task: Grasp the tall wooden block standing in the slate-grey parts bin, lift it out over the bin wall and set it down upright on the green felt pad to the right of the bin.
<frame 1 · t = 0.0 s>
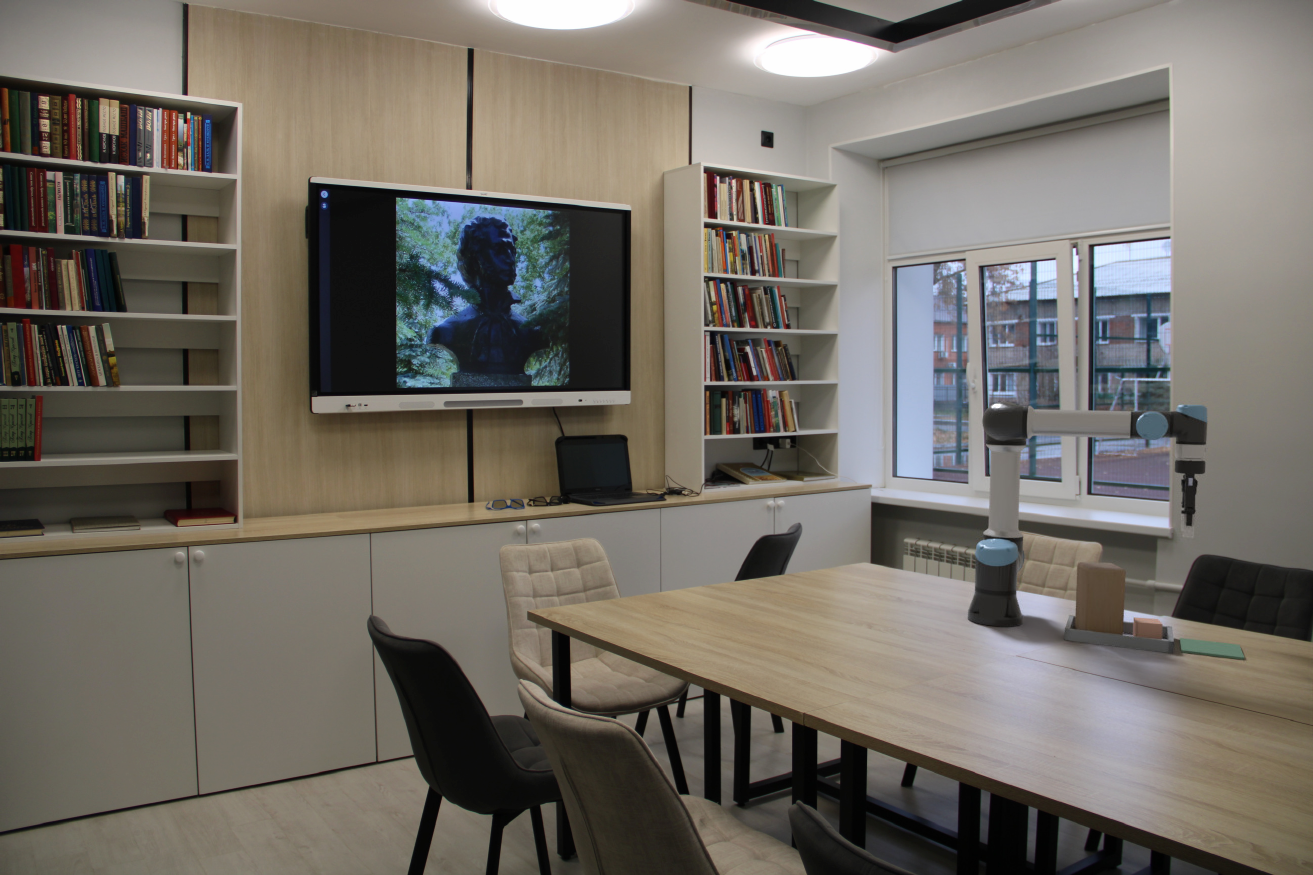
hand: (1187, 534, 265), 28 cm above the table, fingers open, 13 cm apart
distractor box: (1147, 642, 256), resting in bin
pad: (1210, 649, 249), on the table
wooden block: (1098, 636, 261), resting in bin
bin: (1118, 638, 259), on the table
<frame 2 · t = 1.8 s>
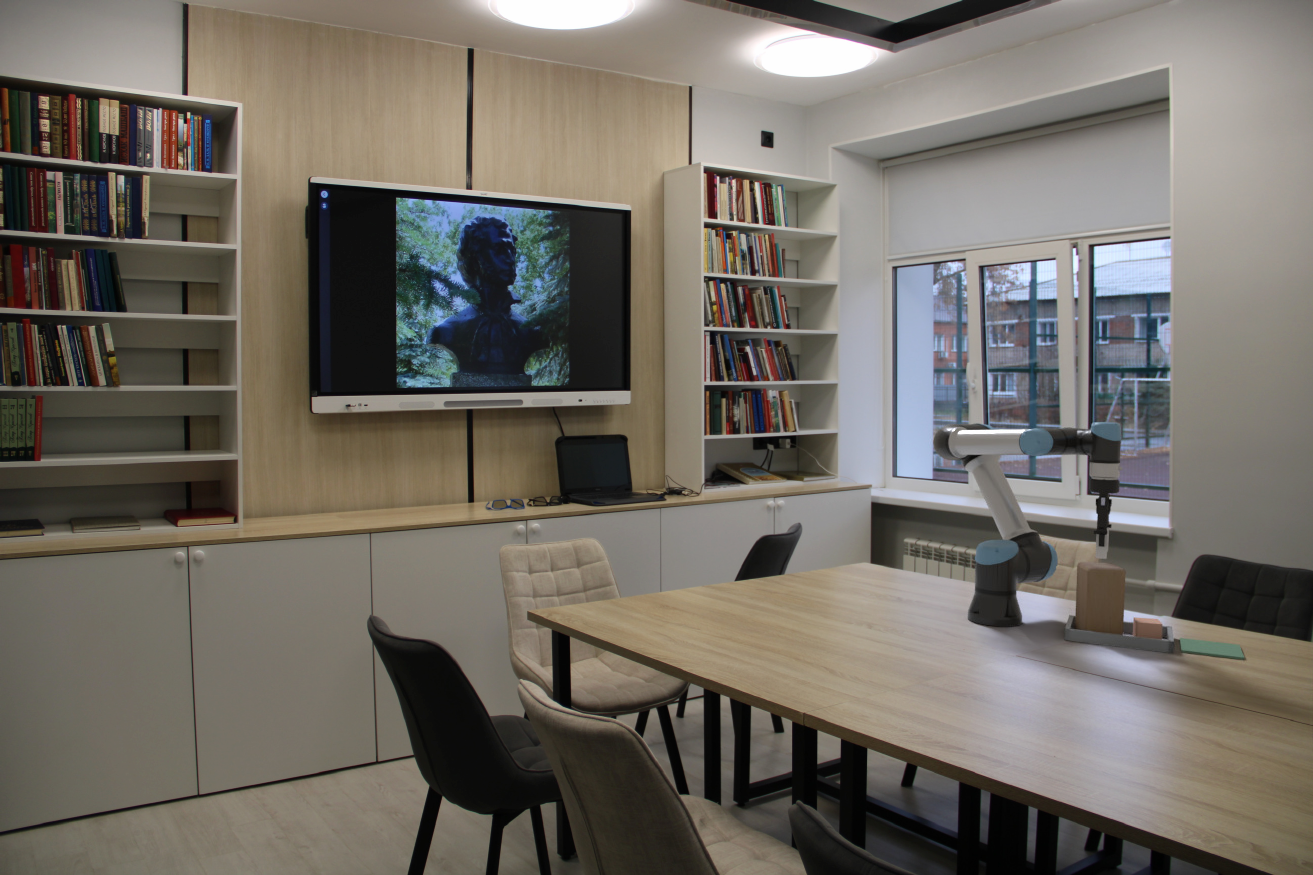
hand: (1102, 554, 260), 23 cm above the table, fingers open, 13 cm apart
nothing on the table moved.
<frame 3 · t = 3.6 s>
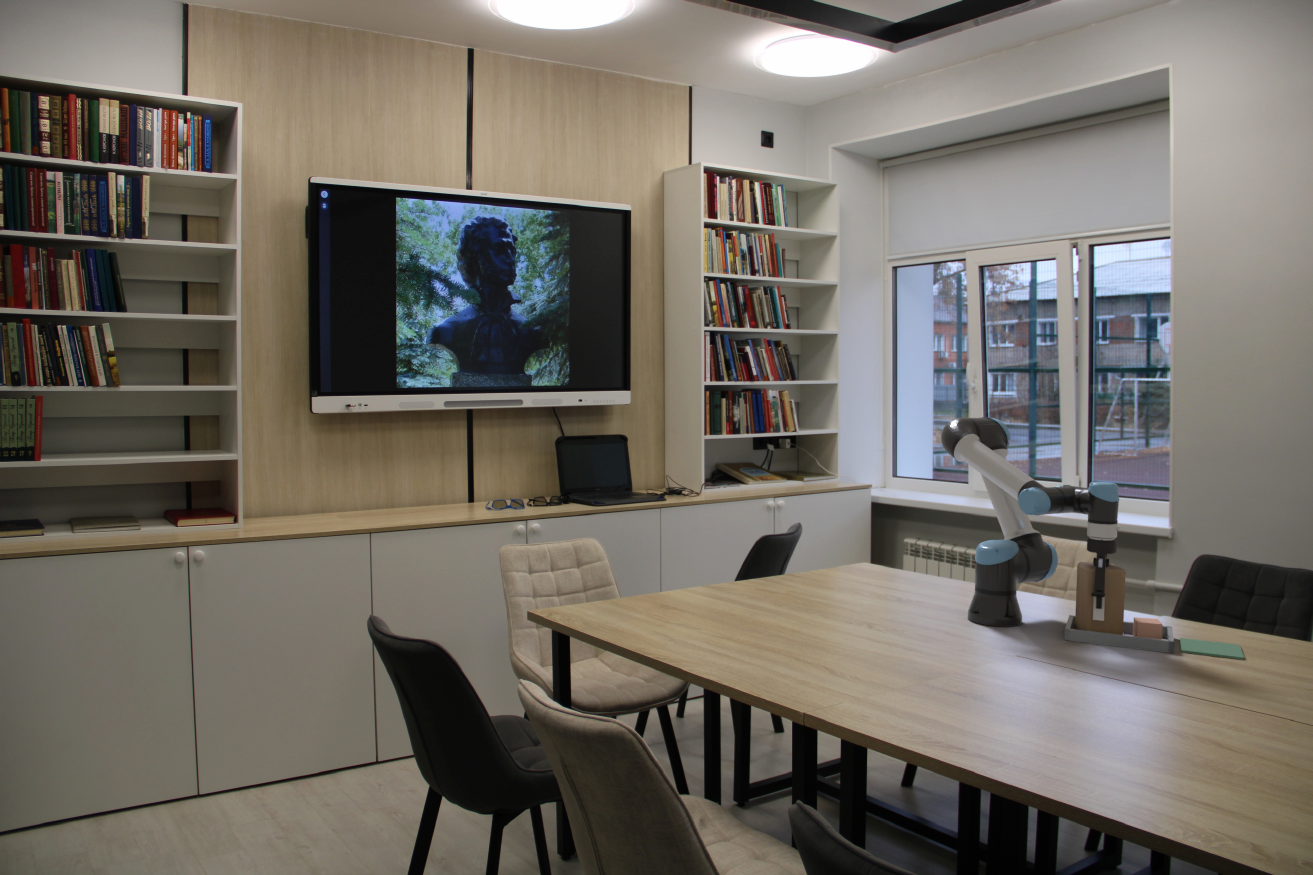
hand: (1099, 615, 261), 6 cm above the table, fingers closed on wooden block, 12 cm apart
wooden block: (1098, 636, 261), resting in bin, touching gripper
everything else where it was.
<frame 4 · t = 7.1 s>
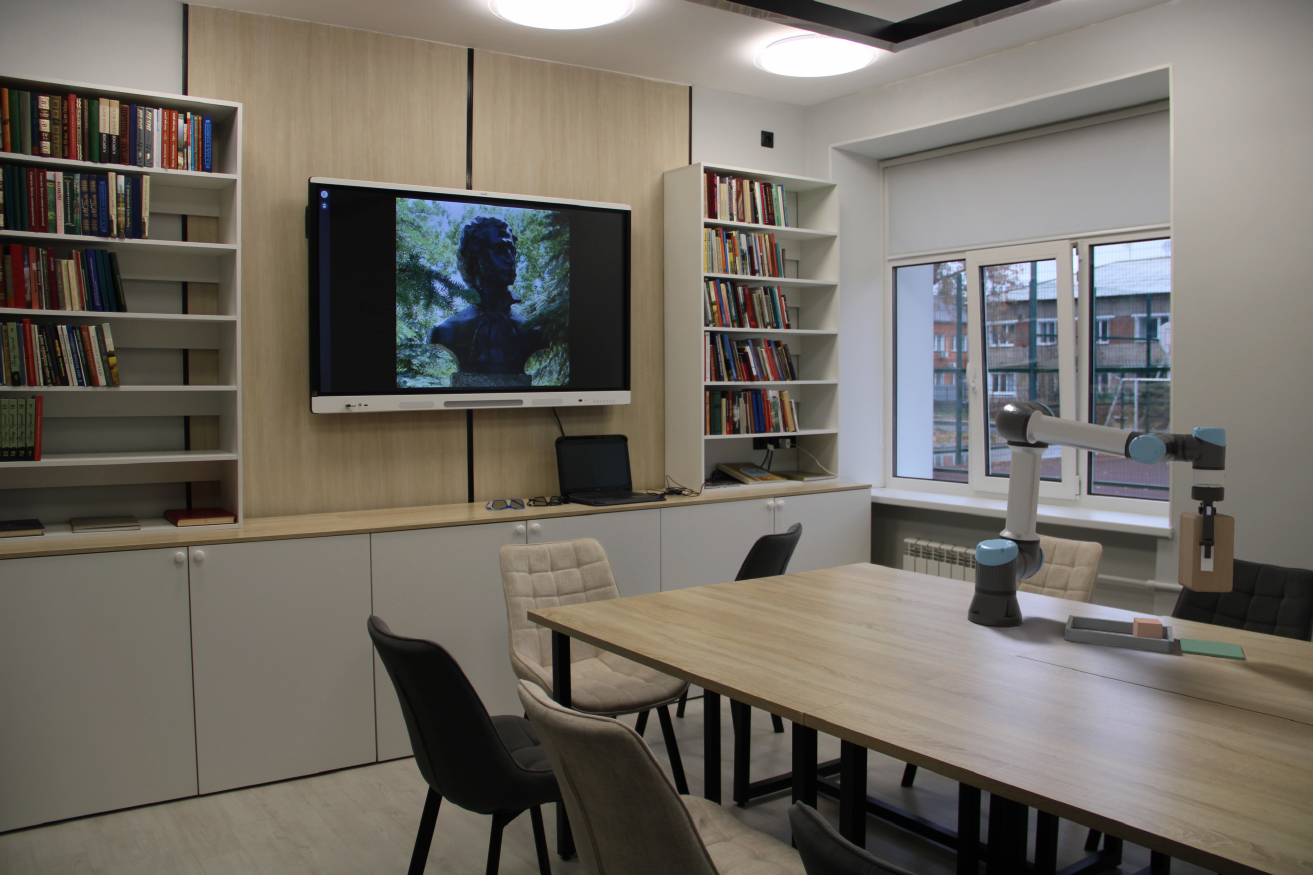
hand: (1205, 566, 248), 22 cm above the table, fingers closed on wooden block, 12 cm apart
wooden block: (1204, 589, 249), point 16 cm above the table, touching gripper
everything else where it was.
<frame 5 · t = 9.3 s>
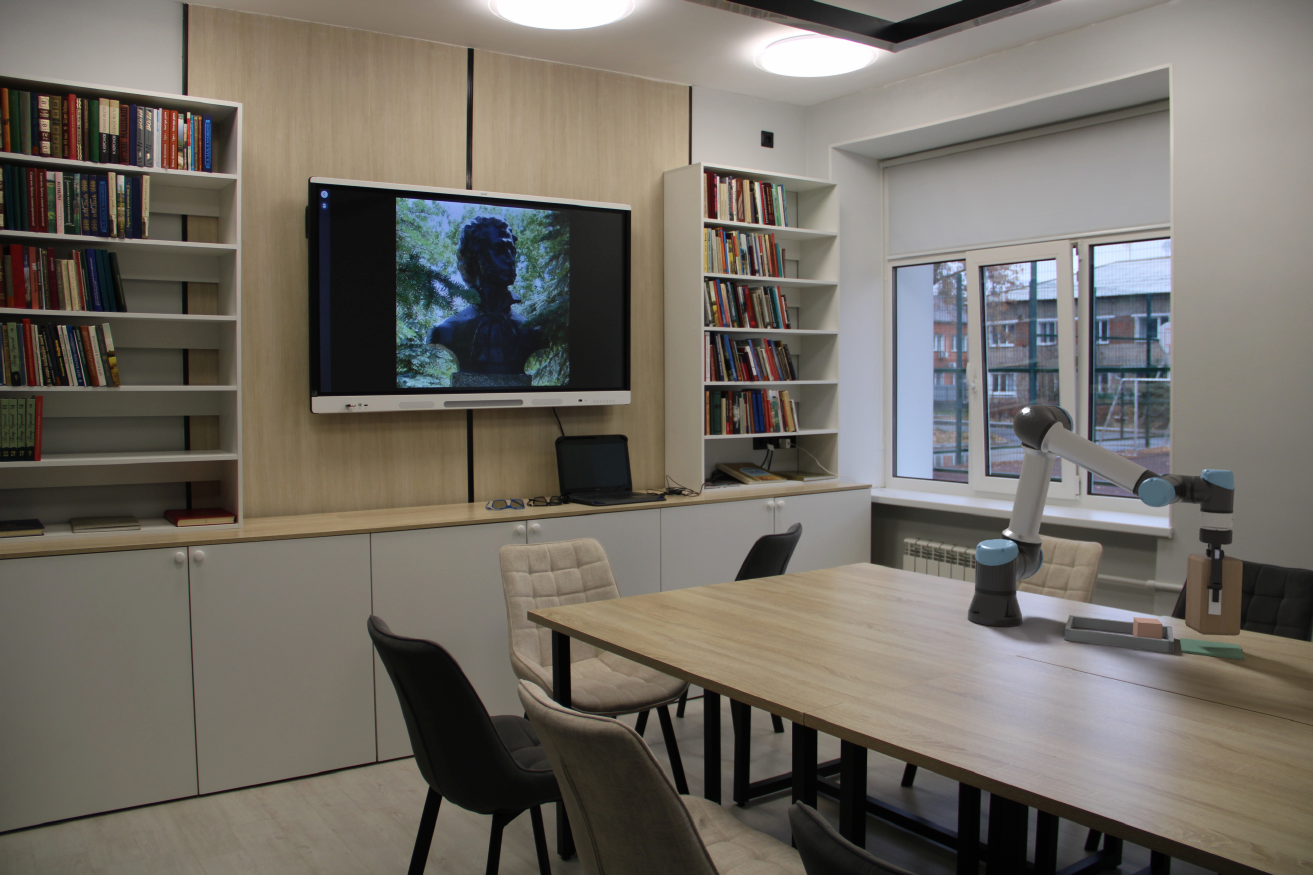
hand: (1212, 609, 248), 11 cm above the table, fingers closed on wooden block, 12 cm apart
wooden block: (1211, 631, 248), point 5 cm above the table, touching gripper
everything else where it was.
when the fingers open (7 cm above the table, at t = 10.8 s): wooden block stays where it is, resting on pad.
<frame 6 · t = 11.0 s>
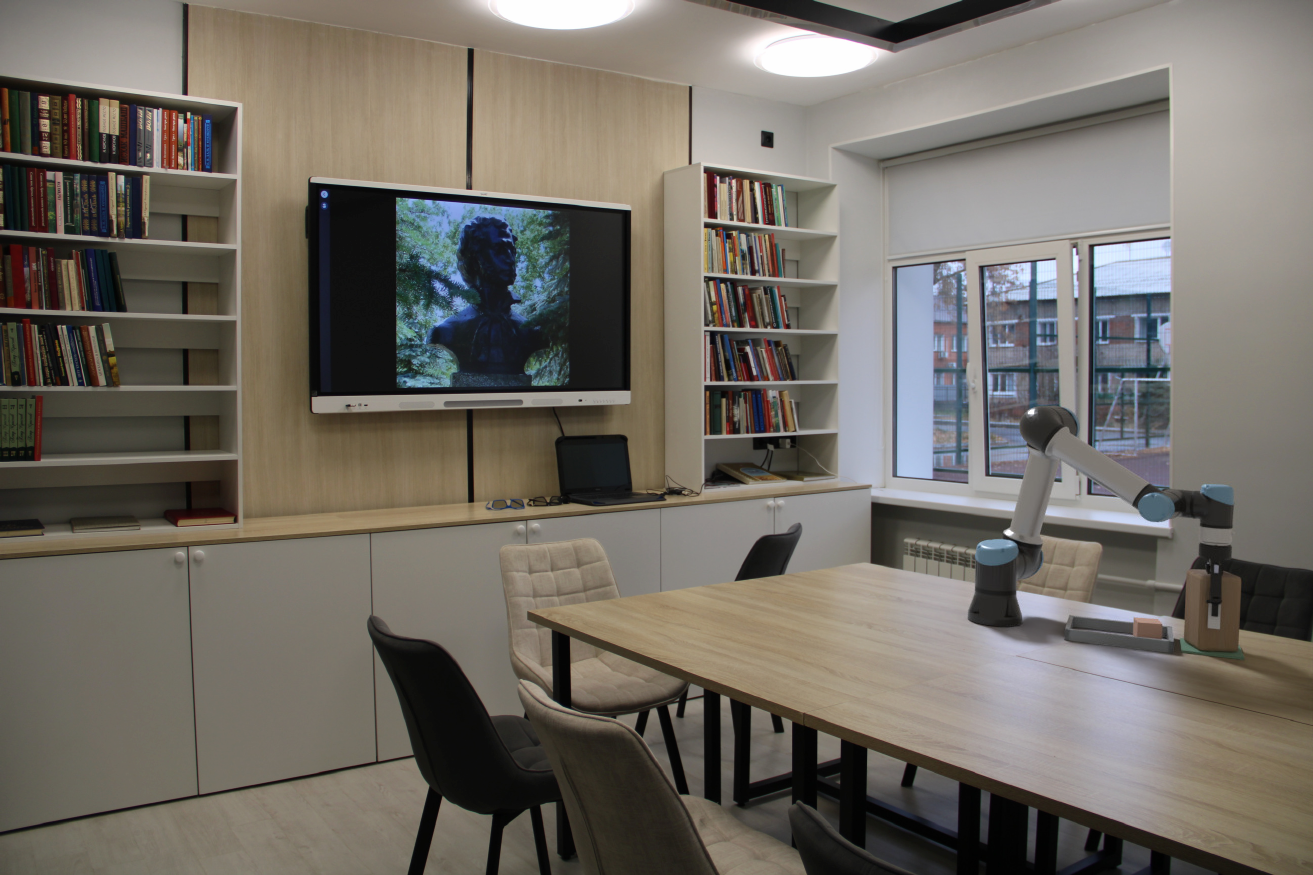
hand: (1211, 622, 248), 7 cm above the table, fingers open, 13 cm apart
wooden block: (1210, 647, 249), resting on pad
everything else where it was.
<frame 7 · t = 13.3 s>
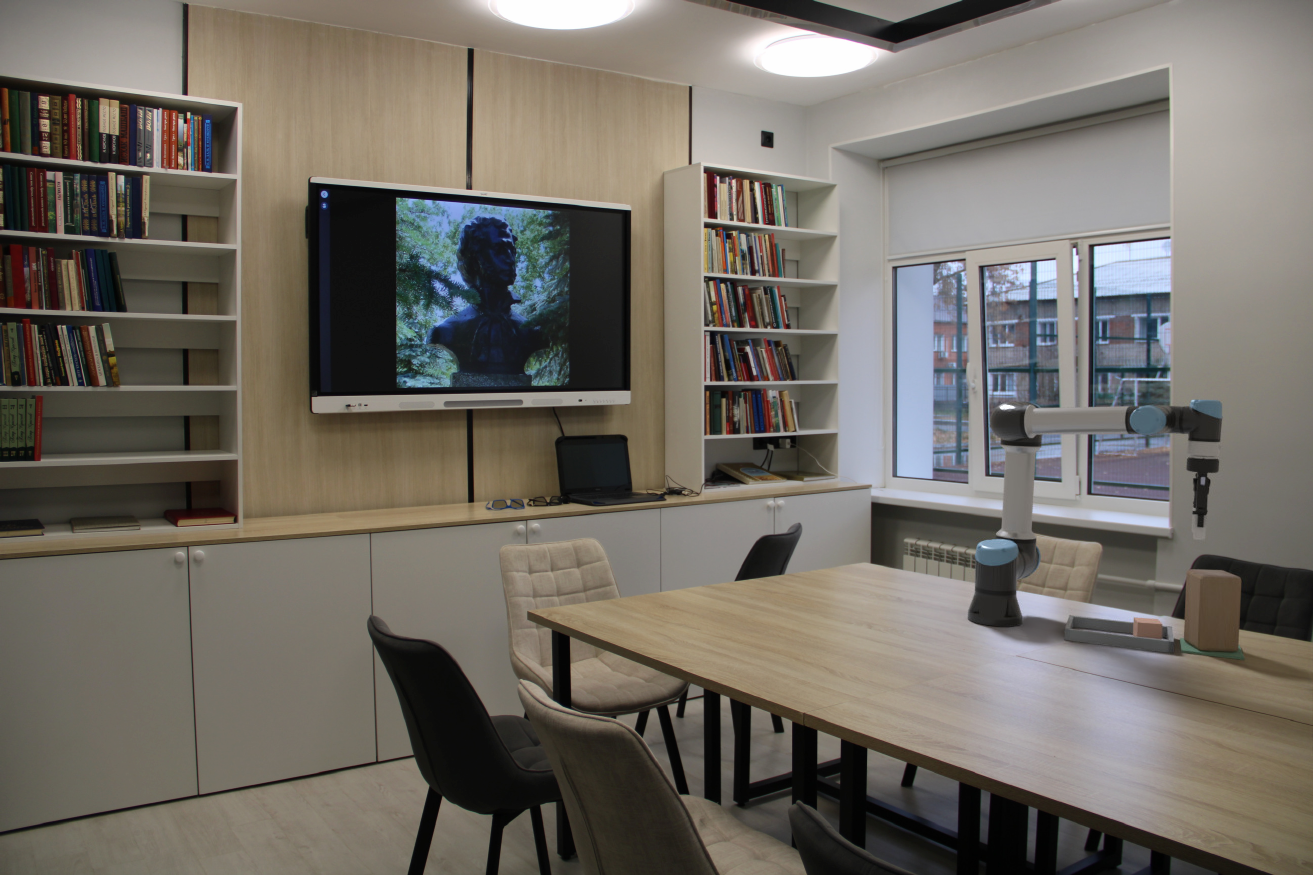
hand: (1198, 535, 252), 30 cm above the table, fingers open, 13 cm apart
nothing on the table moved.
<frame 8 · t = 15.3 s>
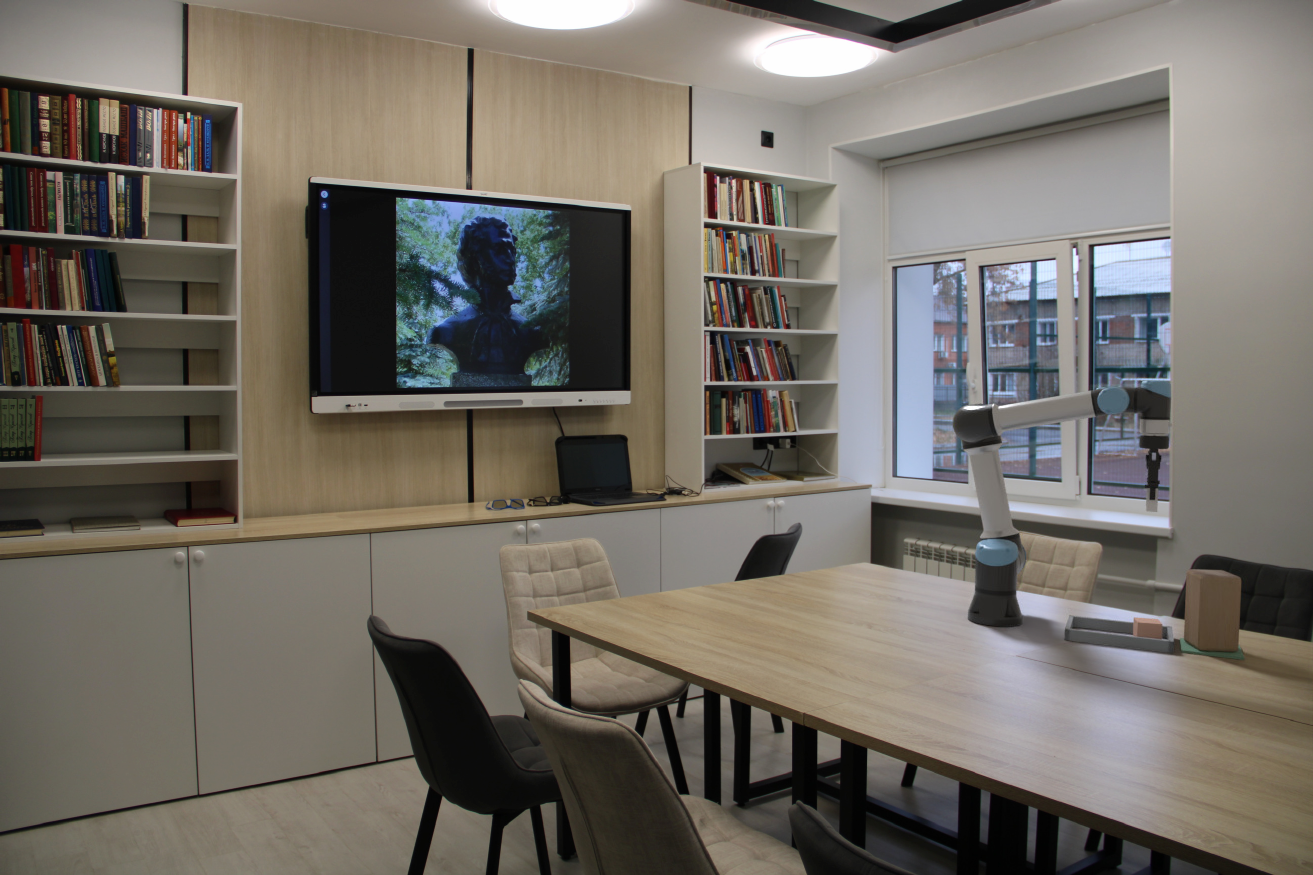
hand: (1151, 509, 268), 35 cm above the table, fingers open, 13 cm apart
nothing on the table moved.
at the end: wooden block inside the target area on the pad (0.1 cm from its centre), point 0.4 cm above the pad's base; wooden block tilted 0°; the gripper is holding nothing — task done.
